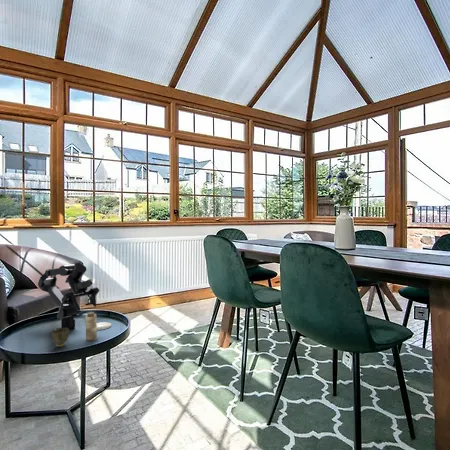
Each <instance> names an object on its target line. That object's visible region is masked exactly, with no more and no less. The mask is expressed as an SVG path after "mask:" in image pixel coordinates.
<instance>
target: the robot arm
mask: <svg viewBox="0 0 450 450" xmlns="http://www.w3.org/2000/svg"><path fill="white" fill-rule="evenodd" d="M86 271H87V267H86V265H84V264H81V262H76V263H75V264H66V265H65V264H64V265H61V266H59V267H58V268H48V269H46V270H45V272H44V273H43V274H42V275H41V276H40V277H39V280H38V283H37V286H38V288H39V289H40V290H41V291H43V292H45V293H47V294H48V295H49V296H50V297H51V298H52V299H53V301H54V302H55V303H56V305H57V306H58V313H57V314H56V317H57V320H59V321H60V327H61V328H62V329H63V328H66V327H67V328H69V331H72V330H75V328H76V319H75V318H76V317H77V316H78V312H79V311H80V310H81V308H80V306H79V304H78V301H77V298H81V297H85V296H86V297H88V300H89V301H90V303H91V304H92V306H93V307H94V308H96V307H97V295H98V293H99V292H100V291H101V290H100V289H99V287H97V286H95V287H91V286H92V285H93V284H94V283H93V280H92V279H91V278H89V279H87V280H84V281H81V278H83V276H84V274H86ZM59 275H60V276H62V277H66V276H67V277H66V278H65V283H66V284H68V285H69V287H70V289H69V291H70V292H65V293H64V295H63V293H62V292H61V291H60V289H58V287H57V286H56V285H57V281H58V278H57V276H59ZM90 287H91V288H90ZM88 288H89V290H88Z"/></svg>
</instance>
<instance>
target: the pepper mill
mask: <svg viewBox="0 0 450 450" xmlns="http://www.w3.org/2000/svg"><path fill="white" fill-rule="evenodd" d="M96 323H97V314H95V312H94V311H93V312H87V315H85V342H93V341H95V340H97V339H98V335H97V331H98V330H97V325H96Z"/></svg>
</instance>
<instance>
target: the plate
mask: <svg viewBox="0 0 450 450" xmlns="http://www.w3.org/2000/svg"><path fill="white" fill-rule="evenodd" d="M96 325H97V331H103V330H107V329H109V328H111V327H112V323H111V322H106V321H103V322H102V321H101V322H96Z"/></svg>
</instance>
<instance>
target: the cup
mask: <svg viewBox="0 0 450 450" xmlns="http://www.w3.org/2000/svg"><path fill="white" fill-rule="evenodd" d="M69 332H70V330H69V328H67V327H66V328H63V329H62V328H61V326H60V327H59V328H57V327H56V329H51V337H52V341H53V343H54V344H55V345H56V348H63V347H65V346H66V345H65V344H66V343H67V341H68V339H69Z"/></svg>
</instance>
